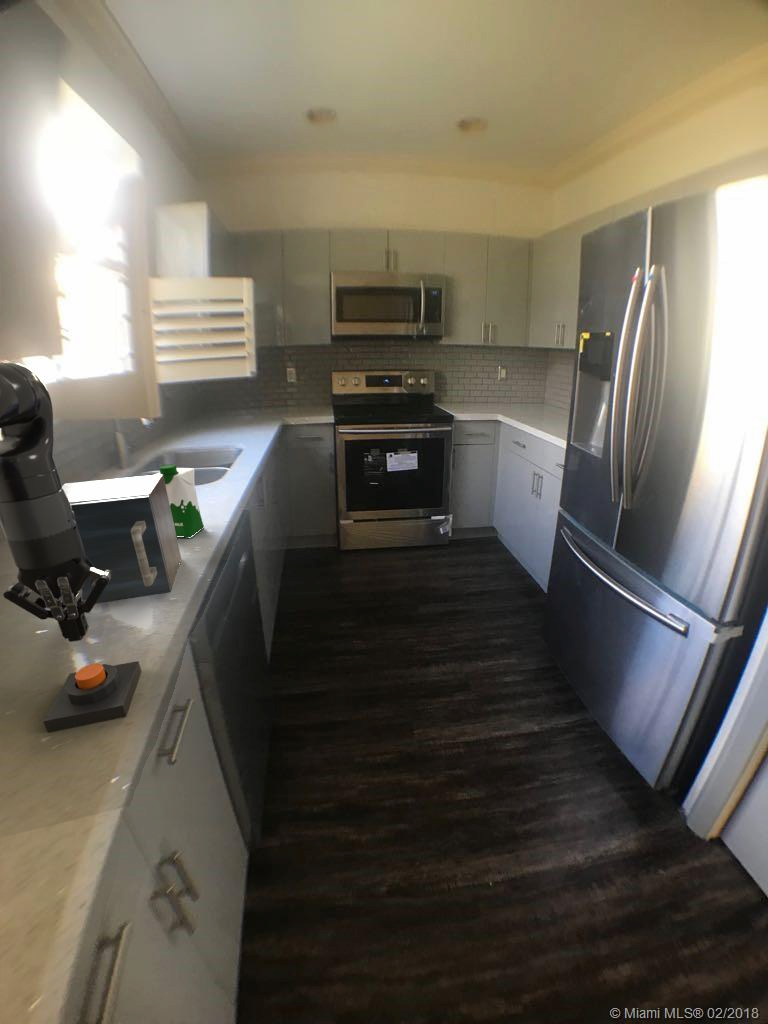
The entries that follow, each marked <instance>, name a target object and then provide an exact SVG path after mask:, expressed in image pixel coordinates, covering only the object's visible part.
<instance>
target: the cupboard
mask: <svg viewBox="0 0 768 1024" xmlns="http://www.w3.org/2000/svg"><path fill="white" fill-rule="evenodd" d="M62 487H63V489H64V491H65V494H66V496H67V498H68V500H69V502H70V504H72V503H82V502H91V501H101V500H110V499H120V498H129V497H139V496H148V495H149V496H150V500H151V504H152V508H153V513H154V517H155V521H156V526H157V530H158V534H159V538H160V543H161V547H162V551H163V556H164V560H165V564H166V569H167V573H168V577H169V582H170V586H171V590H173V587H174V584H175V581H174V580H176V578H175V577H177V575H176V574H178V571H179V568H180V565H179V563H180V564H181V562H180V560H181V561H182V556H181V551H180V550H181V549H180V546H179V542H178V538H177V536H176V532H175V527H174V522H173V518H172V513H171V508H170V504H169V499H168V495H167V490H166V485H165V481H164V476H163V474H160V475H155V474H152V475H139V476H131V477H130V476H129V477H119V478H109V479H100V480H89V481H88V480H87V481H79V482H77V481H76V482H68V483H64V484H62ZM178 567H179V568H178ZM177 570H178V571H177Z"/></svg>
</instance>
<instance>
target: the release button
mask: <svg viewBox="0 0 768 1024" xmlns="http://www.w3.org/2000/svg"><path fill="white" fill-rule="evenodd" d="M105 678H106V674H105V671H104V668H103V666H102V664H101V663H90V664H88V665H85V666H83V667H81V668H80V669H79V670H77V673H76V675H75V679H76V682H77V685H78V687H79V688H80V689H89V688H92V687H95V686H97V685H99V684H100V683H102V682H103V681H104V680H105Z"/></svg>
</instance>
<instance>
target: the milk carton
mask: <svg viewBox="0 0 768 1024" xmlns="http://www.w3.org/2000/svg"><path fill="white" fill-rule="evenodd" d="M158 468H159V472H157V473H154V475H160V474H163V476H164V481H165V485H166V490H167V495H168V499H169V504H170V508H171V513H172V518H173V522H174V527H175V532H176V536H184V537H191V536H192V535H194V534H195V533H196V532H198V531H199V530H200V529H202V528H203V527H204V528H205V525H204V521H203V519H202V516H201V511H200V506H199V501H198V496H197V495H198V494H197V491H196V484H195V482H196V481H195V468H194V467H177V465H176V464H173V463H171V464H170V463H169V464H163V465H161V466H159V467H158Z"/></svg>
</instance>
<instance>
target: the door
mask: <svg viewBox="0 0 768 1024" xmlns="http://www.w3.org/2000/svg"><path fill="white" fill-rule="evenodd" d="M70 505H71V508H72V511H73V512H74V514H75V521H76V524H77V527H78V531H79V534H80V537H81V540H82V544H83V547H84V551H85V555H86V557H87V558H88V559H89V560H90V561H91V562H92V564H93V568H96V569H98V570H101V571H103V572H104V571H105V570H110V571H112V573H113V575H112V577H111V578H110V580H109V582H108V583H107V585H106V587H105V588H104V590H103V592H102V593H101V595H100V597H99V598H98V600H97V602H96V603H95V604H100V603H106V602H111V601H119V600H125V599H132V598H139V597H145V596H153V595H159V594H165V593H171V591H172V589H171V586H170V582H169V577H168V573H167V569H166V564H165V560H164V556H163V551H162V547H161V543H160V538H159V534H158V530H157V526H156V521H155V517H154V513H153V508H152V504H151V500H150V496H149V495H148V496H139V497H129V498H120V499H110V500H101V501H91V502H82V503H72V504H70ZM90 581H91V578H90V577H89V576H88V578H87V580H86V582H85V583H84V585H83V587H82V598H83V601H84V600H86V599H87V598H88V596H89V595H90V593H91V591H92V590H93V588H94V587H93V586H92V585H91V584H90Z"/></svg>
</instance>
